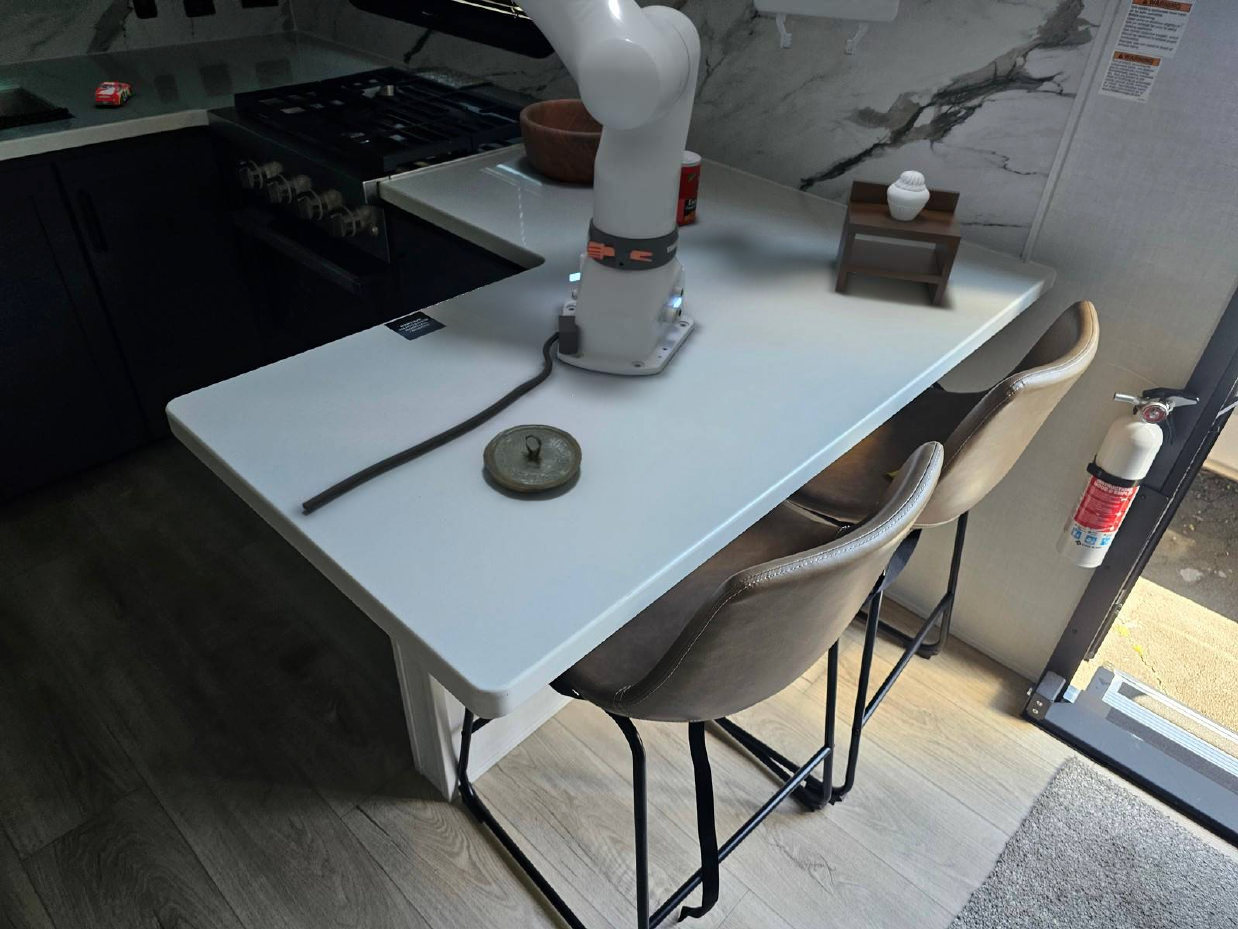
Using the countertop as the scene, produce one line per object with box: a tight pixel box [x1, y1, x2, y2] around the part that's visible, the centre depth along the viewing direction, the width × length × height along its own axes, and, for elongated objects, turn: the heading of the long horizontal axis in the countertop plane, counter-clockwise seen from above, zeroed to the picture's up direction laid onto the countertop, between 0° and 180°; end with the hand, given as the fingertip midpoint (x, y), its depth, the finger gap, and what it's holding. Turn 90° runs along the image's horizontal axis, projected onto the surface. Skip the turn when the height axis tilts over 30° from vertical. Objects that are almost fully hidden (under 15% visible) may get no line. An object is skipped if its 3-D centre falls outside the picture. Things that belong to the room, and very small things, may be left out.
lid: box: [482, 423, 583, 493], centre depth 91 cm, size 11×10×5 cm
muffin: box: [887, 170, 930, 221], centre depth 126 cm, size 6×6×7 cm
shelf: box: [834, 178, 963, 306], centre depth 131 cm, size 11×16×14 cm
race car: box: [94, 81, 133, 106], centre depth 192 cm, size 13×5×4 cm, turn 10°
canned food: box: [676, 149, 702, 226], centre depth 150 cm, size 8×8×11 cm
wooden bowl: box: [519, 98, 603, 184], centre depth 170 cm, size 25×25×10 cm
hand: (816, 50), depth 125 cm, fingers open, 8 cm apart
